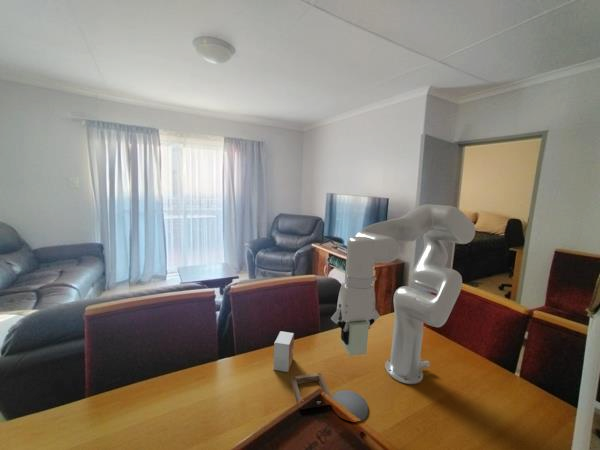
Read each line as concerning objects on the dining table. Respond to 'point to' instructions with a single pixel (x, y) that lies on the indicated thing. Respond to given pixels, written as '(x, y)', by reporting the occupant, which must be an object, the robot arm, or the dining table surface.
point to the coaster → (352, 403)
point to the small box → (283, 351)
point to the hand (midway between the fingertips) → (354, 340)
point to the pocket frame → (306, 379)
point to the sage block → (357, 338)
